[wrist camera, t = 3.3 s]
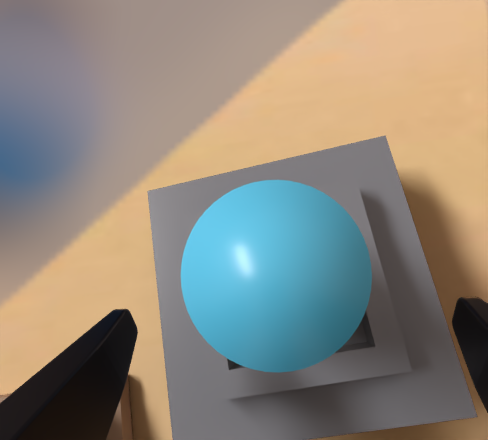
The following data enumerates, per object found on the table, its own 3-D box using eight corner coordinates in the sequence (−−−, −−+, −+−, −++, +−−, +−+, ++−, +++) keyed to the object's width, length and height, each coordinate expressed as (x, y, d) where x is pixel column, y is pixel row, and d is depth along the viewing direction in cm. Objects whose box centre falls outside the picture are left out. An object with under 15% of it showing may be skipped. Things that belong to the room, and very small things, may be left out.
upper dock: (435, 389, 16) (501, 432, 11) (202, 422, 17) (159, 475, 12) (368, 168, 19) (394, 118, 14) (175, 211, 21) (133, 180, 15)
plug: (343, 324, 14) (397, 354, 6) (250, 340, 14) (193, 386, 7) (320, 234, 15) (343, 161, 7) (235, 251, 15) (170, 201, 8)
